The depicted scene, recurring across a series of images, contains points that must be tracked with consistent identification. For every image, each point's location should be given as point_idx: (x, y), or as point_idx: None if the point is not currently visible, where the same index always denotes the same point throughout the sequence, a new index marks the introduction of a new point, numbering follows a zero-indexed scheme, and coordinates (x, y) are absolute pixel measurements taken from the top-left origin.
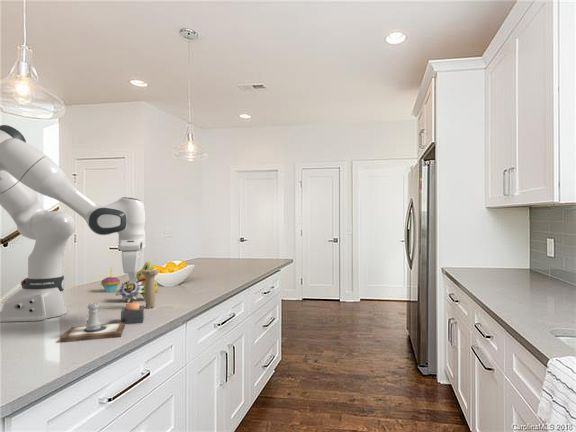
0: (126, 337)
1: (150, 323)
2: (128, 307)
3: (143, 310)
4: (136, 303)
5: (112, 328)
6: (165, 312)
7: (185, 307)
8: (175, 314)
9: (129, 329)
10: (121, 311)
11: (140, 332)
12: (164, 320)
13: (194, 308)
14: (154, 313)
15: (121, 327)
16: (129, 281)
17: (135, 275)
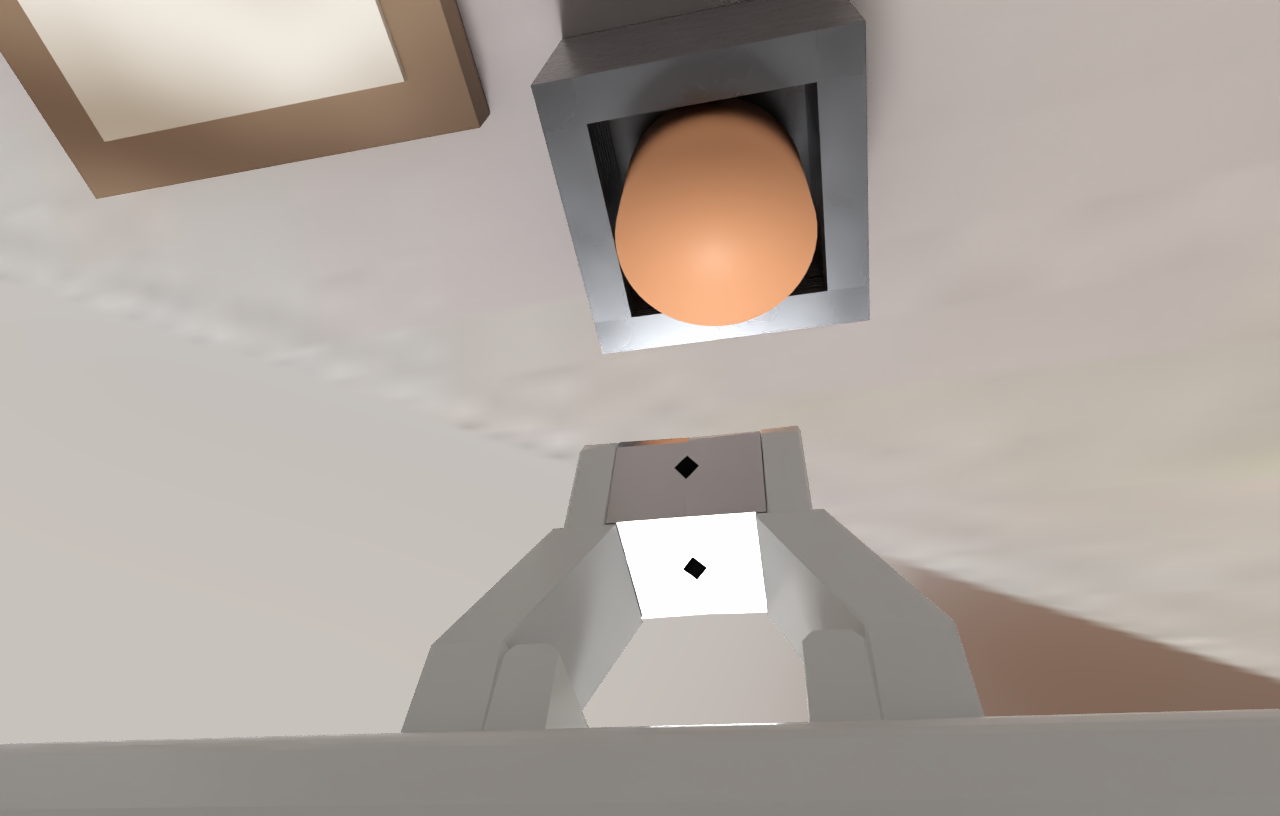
0: (127, 238)
1: (593, 347)
2: (627, 186)
3: None
4: (752, 282)
5: (192, 61)
6: (1029, 413)
7: (1172, 549)
8: (897, 498)
9: (375, 198)
10: (533, 94)
11: (294, 320)
12: None
13: (1079, 608)
14: (1033, 315)
15: (279, 147)
16: (577, 471)
17: (802, 651)
